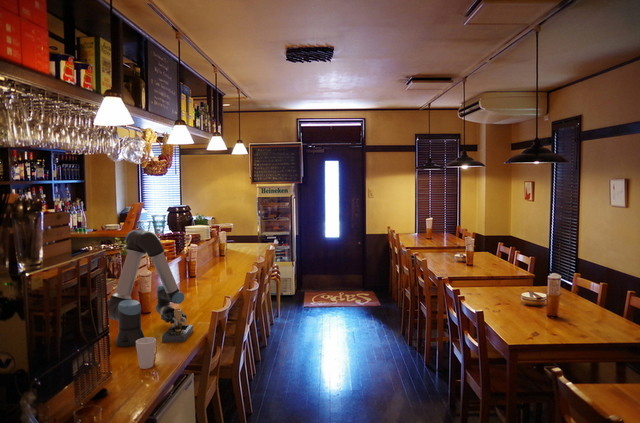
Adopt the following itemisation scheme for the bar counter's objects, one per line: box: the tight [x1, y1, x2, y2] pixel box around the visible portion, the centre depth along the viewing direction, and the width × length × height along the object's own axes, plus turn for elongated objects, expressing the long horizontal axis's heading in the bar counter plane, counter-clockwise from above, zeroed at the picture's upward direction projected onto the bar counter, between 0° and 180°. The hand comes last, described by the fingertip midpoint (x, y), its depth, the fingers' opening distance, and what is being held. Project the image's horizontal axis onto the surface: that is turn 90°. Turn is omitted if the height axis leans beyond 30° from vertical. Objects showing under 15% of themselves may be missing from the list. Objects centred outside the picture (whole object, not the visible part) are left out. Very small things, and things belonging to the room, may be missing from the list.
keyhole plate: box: [161, 324, 194, 343], centre depth 262 cm, size 19×12×4 cm, turn 1°
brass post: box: [173, 308, 183, 334], centre depth 260 cm, size 6×6×15 cm
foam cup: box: [135, 336, 157, 370], centre depth 219 cm, size 10×9×13 cm
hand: (181, 322), depth 256 cm, fingers closed on brass post, 4 cm apart
